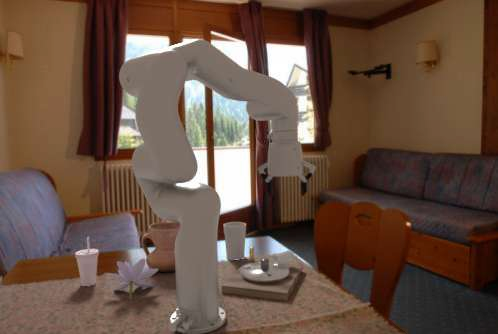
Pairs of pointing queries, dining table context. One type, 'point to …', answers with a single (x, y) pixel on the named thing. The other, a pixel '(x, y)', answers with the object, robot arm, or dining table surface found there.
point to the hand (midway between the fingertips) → (287, 195)
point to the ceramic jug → (161, 246)
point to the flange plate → (268, 270)
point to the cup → (235, 239)
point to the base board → (263, 285)
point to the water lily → (132, 275)
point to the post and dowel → (263, 261)
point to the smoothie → (87, 265)
